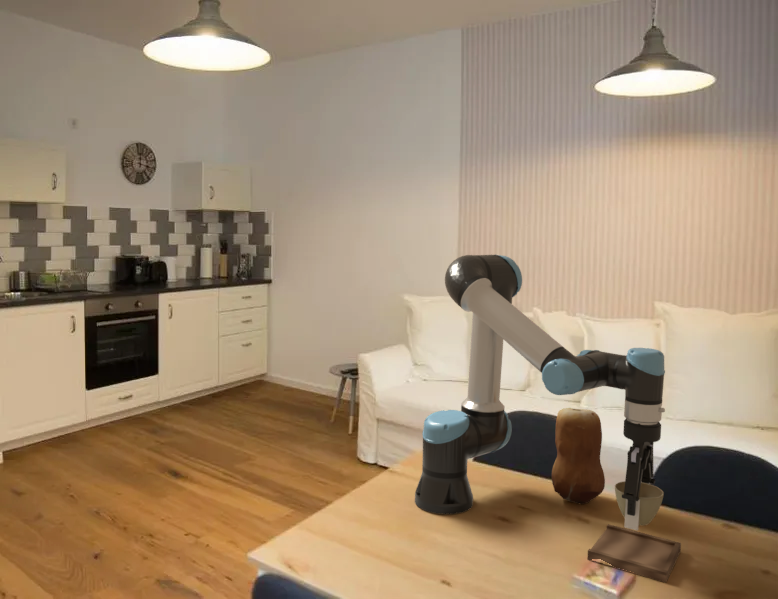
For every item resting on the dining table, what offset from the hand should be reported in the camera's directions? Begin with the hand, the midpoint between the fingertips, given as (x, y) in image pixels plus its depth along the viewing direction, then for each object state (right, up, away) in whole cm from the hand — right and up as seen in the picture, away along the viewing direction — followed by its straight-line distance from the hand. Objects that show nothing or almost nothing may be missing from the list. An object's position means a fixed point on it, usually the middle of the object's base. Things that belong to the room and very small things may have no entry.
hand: (637, 519), depth 141 cm
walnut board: (0, -8, +1) cm, 8 cm away
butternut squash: (-5, -6, +30) cm, 31 cm away
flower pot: (0, 0, 0) cm, 0 cm away
